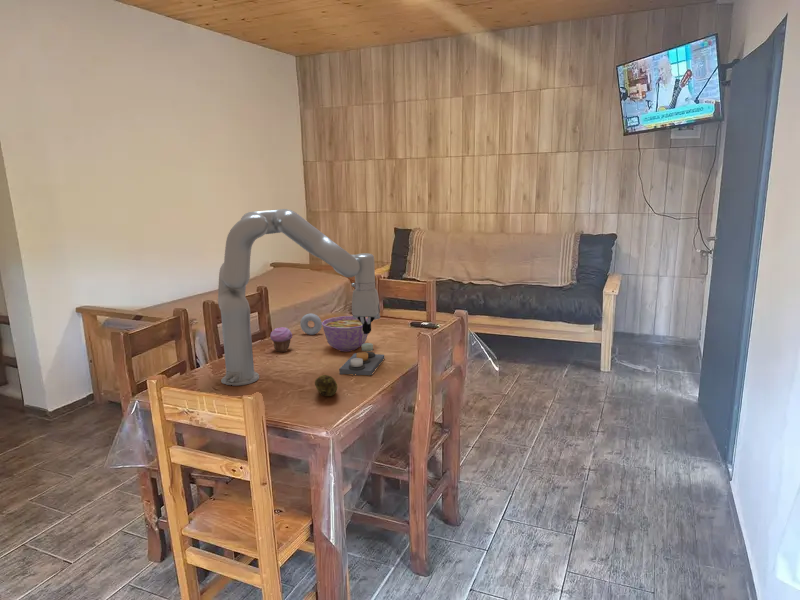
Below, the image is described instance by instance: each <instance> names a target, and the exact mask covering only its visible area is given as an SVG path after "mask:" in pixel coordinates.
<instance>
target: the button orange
mask: <svg viewBox="0 0 800 600" xmlns="http://www.w3.org/2000/svg"><path fill="white" fill-rule="evenodd" d="M366 352H367V351H360V352H357V354H356V358H362V359H363V361H366V360H368V353H366Z"/></svg>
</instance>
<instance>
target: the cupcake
mask: <svg viewBox="0 0 800 600" xmlns="http://www.w3.org/2000/svg"><path fill="white" fill-rule="evenodd" d="M292 338H293V333H292V331H291V330H290V329H289V328H288V327H285V326H284V327H283V326H282V327H276V328H274V329H273V330H272V331H271V332H270V338H269V339H270V340H271V341H272V342H273V349H274V351H275V352H277V353H279V352H280V353H286V352H287V351H288V349H289V347H290V344H291V339H292Z"/></svg>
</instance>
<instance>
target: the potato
mask: <svg viewBox="0 0 800 600" xmlns="http://www.w3.org/2000/svg"><path fill="white" fill-rule="evenodd" d="M314 386H315V388H316V390H317V392H319V394H320V395H321V396H325V397H331V396H332V397H333V396H334V395H336V393H337V391H338V384H337V382H336V380H335V378H334V377H333V376H332V375H331V376H330V375H328V374H322V375H319V377H317V378H316V379H315V380H314Z"/></svg>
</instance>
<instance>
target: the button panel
mask: <svg viewBox="0 0 800 600" xmlns="http://www.w3.org/2000/svg"><path fill="white" fill-rule="evenodd" d="M365 352H366V353H368V360H366V361H363V366H361V367H352V366H351V359H353V358H356V354H357V353H358V352H357V353H356V352H355V353H353V354H352V356H350V358H348V359H347V360H346V362H344V363H343V364H342V365H341V367H340V368H339V369H338V372H339V373H338V374H339V375H343V374H353V375H352V376H360V375H372V376H373V374H374V373H375V372H376V371H375V369H376V368H377V367H378V366H379V364H380V363H381V362H382V361H383V359H384V360H385V354H378V353H375V352H373V351H365ZM383 362H384V361H383ZM383 362H382V363H383ZM382 363H381V364H382ZM381 364H380V365H381ZM379 367H380V366H379ZM379 367H378V368H379ZM378 368H377V369H378ZM377 369H376V370H377ZM374 371H375V372H374ZM373 372H374V373H373ZM372 373H373V374H372ZM355 374H356V375H355Z"/></svg>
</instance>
